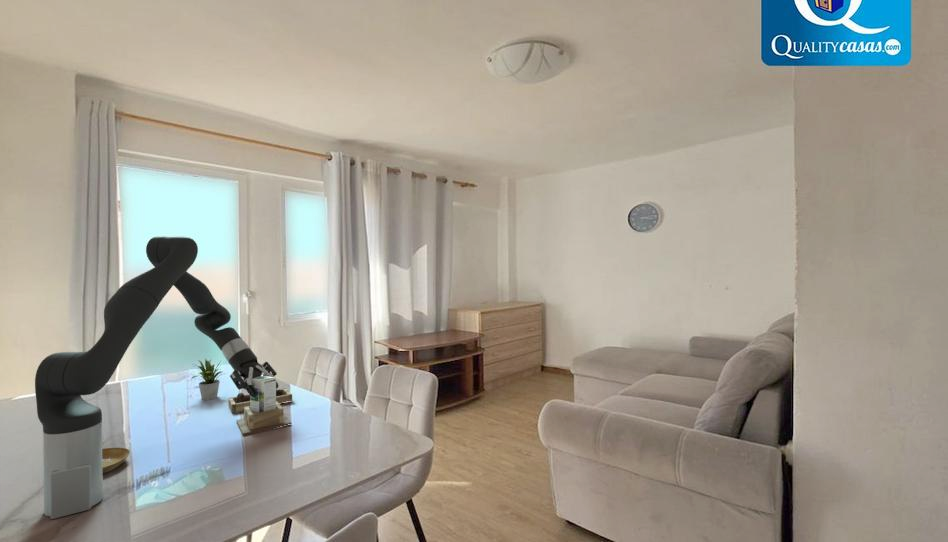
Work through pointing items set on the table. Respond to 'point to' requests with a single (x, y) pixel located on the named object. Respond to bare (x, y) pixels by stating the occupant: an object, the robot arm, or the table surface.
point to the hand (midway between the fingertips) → (266, 392)
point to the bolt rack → (239, 407)
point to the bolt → (245, 398)
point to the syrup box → (263, 394)
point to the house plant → (208, 380)
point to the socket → (262, 420)
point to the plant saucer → (113, 457)
